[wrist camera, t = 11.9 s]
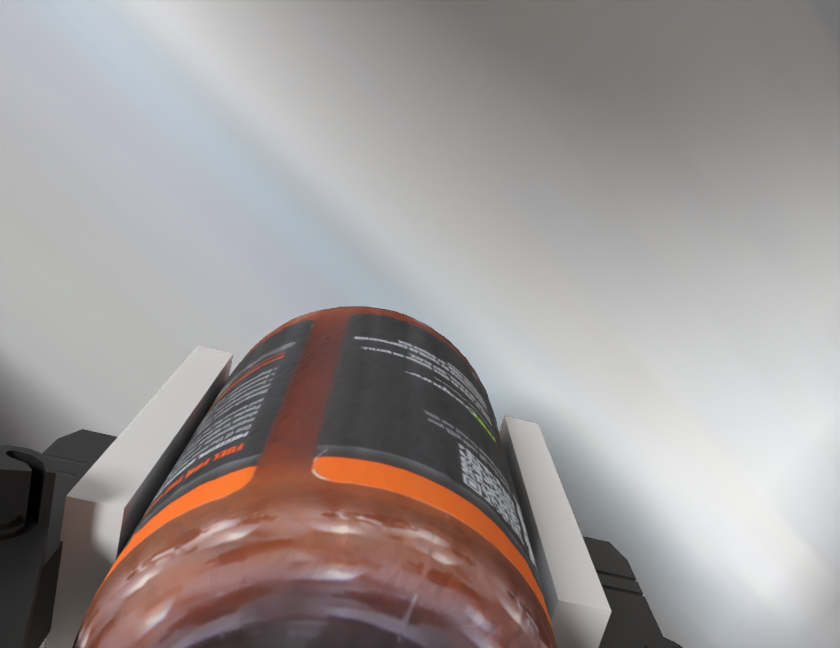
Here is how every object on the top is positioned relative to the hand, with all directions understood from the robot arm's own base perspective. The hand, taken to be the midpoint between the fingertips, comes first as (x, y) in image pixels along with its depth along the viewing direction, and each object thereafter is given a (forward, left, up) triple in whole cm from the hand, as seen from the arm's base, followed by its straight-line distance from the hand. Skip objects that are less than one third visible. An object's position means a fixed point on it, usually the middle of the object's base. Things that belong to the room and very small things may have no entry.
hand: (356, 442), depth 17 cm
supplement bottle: (0, 0, -1) cm, 1 cm away
